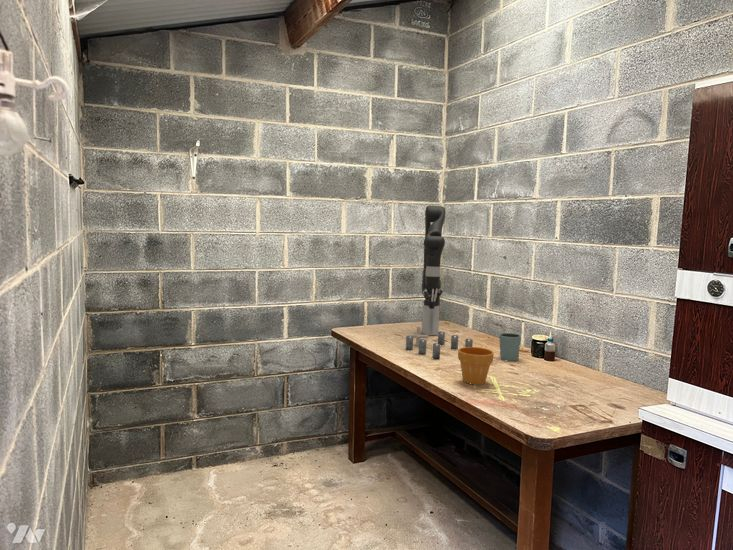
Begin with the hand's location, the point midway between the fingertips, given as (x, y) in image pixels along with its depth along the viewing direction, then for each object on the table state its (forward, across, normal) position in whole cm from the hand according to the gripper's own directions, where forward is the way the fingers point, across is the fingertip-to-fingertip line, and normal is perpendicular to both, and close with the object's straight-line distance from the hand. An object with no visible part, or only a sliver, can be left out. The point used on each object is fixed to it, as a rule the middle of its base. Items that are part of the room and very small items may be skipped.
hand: (431, 308), depth 270 cm
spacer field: (+21, 0, +7) cm, 22 cm away
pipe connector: (+21, +1, -8) cm, 23 cm away
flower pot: (+21, +23, +53) cm, 62 cm away
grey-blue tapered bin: (+21, -20, +35) cm, 45 cm away
